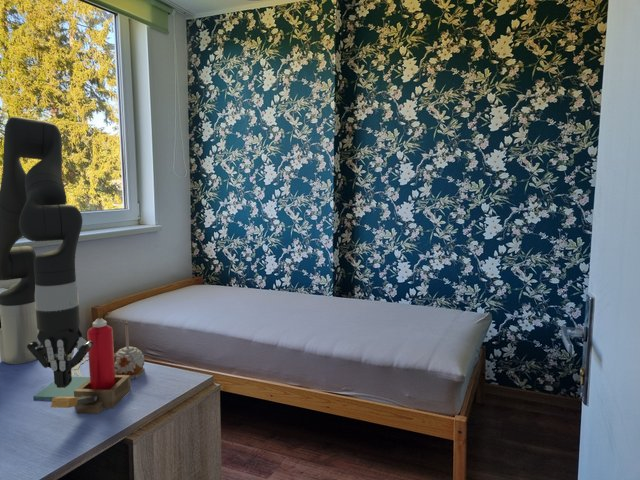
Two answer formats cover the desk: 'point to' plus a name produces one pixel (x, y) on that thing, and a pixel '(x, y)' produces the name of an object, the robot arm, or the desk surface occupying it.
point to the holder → (103, 395)
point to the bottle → (101, 356)
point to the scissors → (76, 368)
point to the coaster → (60, 389)
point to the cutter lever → (72, 401)
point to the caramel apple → (129, 359)
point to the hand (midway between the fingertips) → (63, 386)
